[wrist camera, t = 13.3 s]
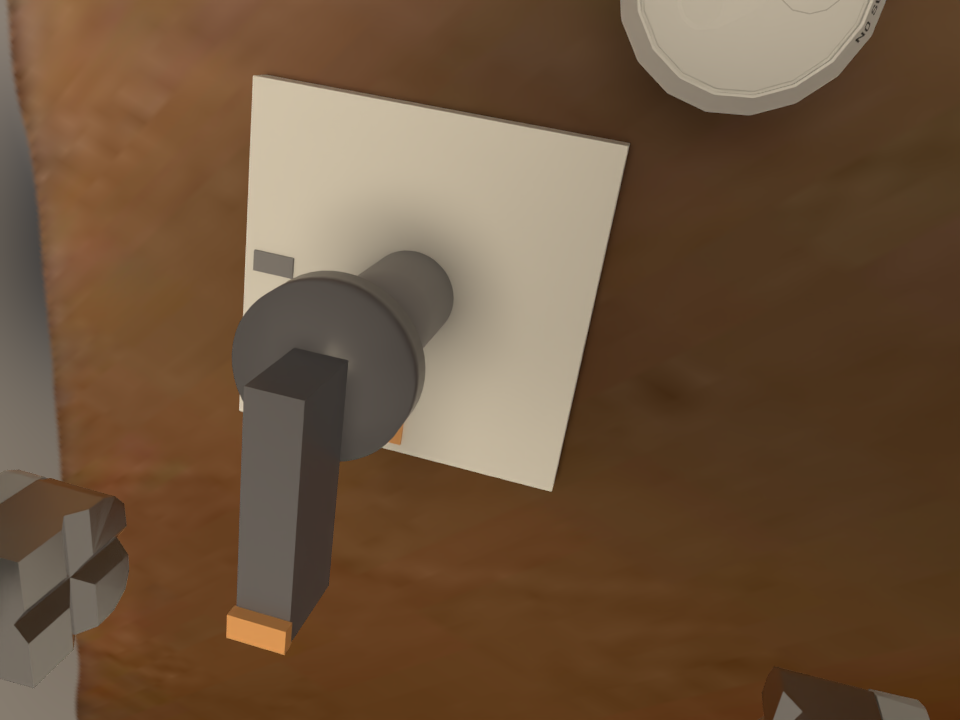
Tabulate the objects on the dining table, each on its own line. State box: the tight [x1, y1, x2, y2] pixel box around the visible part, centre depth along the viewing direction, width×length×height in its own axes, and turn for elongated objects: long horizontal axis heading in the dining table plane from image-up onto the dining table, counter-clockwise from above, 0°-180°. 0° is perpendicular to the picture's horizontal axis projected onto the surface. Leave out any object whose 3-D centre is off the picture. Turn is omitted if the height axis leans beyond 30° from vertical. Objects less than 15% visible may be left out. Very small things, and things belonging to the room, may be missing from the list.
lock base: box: [239, 75, 630, 492], centre depth 41 cm, size 20×20×12 cm
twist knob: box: [226, 271, 426, 655], centre depth 33 cm, size 14×8×7 cm, turn 172°
